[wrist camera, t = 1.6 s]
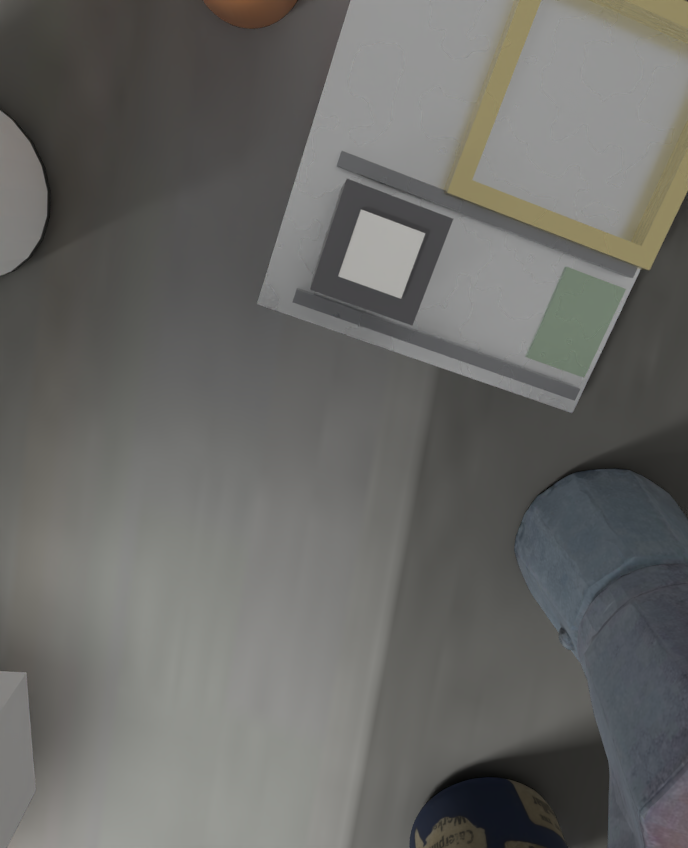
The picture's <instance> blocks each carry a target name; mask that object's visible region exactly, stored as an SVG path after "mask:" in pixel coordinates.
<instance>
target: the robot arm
mask: <svg viewBox="0 0 688 848" xmlns="http://www.w3.org/2000/svg"><path fill="white" fill-rule="evenodd" d="M35 791H36V785H35V772H34V760H33V747H32V735H31V722H30V710H29V697H28V685H27V672H9V671H0V848H7V846H8V844H9V842H10V840H11V838H12V836H13V834H14V833H15V831H16V829H17V827H18V825H19V823H20V821H21V819H22V817H23V815H24V813H25V811H26V809H27V807H28V805H29V803H30V801H31V799H32V797H33V795H34V793H35Z"/></svg>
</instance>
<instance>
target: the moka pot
mask: <svg viewBox="0 0 688 848" xmlns="http://www.w3.org/2000/svg"><path fill="white" fill-rule="evenodd" d="M514 551H515V555H516V559H517V562H518V565H519V567H520V570H521V572H522V575H523V577H524V579H525V581H526V584H527V586H528V588H529V590H530V592H531V593H532V595H533V597H534V598H535V600H536V601H537V602H538V604H539V605H540V606H541V608H542V609H543V611H544V612H545V614H546V615H547V617H548V618H549V620H550V621H551V622H552V624H553V625H554V626H555V628H556V629H557V631H558V632H559V640H560V642H561V644H562V645H563V646H564V647H565V648H566V649H568V650H572V652H573V653H574V655H575V656H576V658H577V659H578V660H579V662H580V663H581V666H582V668H583V671H584V673H585V676H586V678H587V680H588V687H589V692H590V698H591V702H592V707H593V712H594V716H595V719H596V722H597V725H598V728H599V732H600V735H601V738H602V742H603V745H604V749H605V752H606V755H607V758H608V762H609V775H610V779H609V815H608V846H607V848H688V519H687V518H686V516H685V515H684V513H683V512H682V510H681V509H680V508H679V506H678V505H677V503H676V502H675V500H674V499H673V498H672V496H671V495H670V494H669V493H668V492H666V491H665V490H663V489H662V488H661V487H659V486H658V485H656V484H655V483H653V482H652V481H651V480H649V479H647V478H645V477H643V476H642V475H639V474H637V473H635V472H633V471H630V470H626V469H598V470H587V471H583V472H576V473H573V474H571V475H569V476H567V477H565V478H563V479H561V480H560V481H558V482H557V483H555V484H554V485H553V486H552V487H550V488H548V489H547V490H546V491H545V492H543V493H542V494H540V495H538V496H537V498H536V499H535V500H534V501H533V503H532V504H531V505H530V507H529V509H528V510H527V511H526V513H525V514H524V517H523V520H522V522H521V525H520V527H519V529H518V533H517V535H516V540H515V548H514Z"/></svg>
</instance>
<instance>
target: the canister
mask: <svg viewBox="0 0 688 848" xmlns="http://www.w3.org/2000/svg"><path fill="white" fill-rule="evenodd" d="M410 848H568V846H567V844H566V841H565V839H564V837H563V834H562V831H561V829H560V826H559V824H558V821H557V818H556V816H555V814H554V812H553V810H552V809H551V807H550V806H549V804H548V803H547V802H546V801H545V800H544V799H543V798H542V797H541V796H540V795H539V794H538V793H537V792H536V791H535V790H533V789H531V788H529V787H528V786H526V785H523V784H521V783H518V782H516V781H512V780H509V779H503V778H495V777H484V778H475V779H470V780H466V781H463V782H460V783H457V784H454V785H452V786H450V787H448V788H446V789H444V790H442V791H441V792H439V793H438V794H437V795H435V796H434V797H433V798H432V799H430V800H429V801H428V802H427V803H426V804H425V805H424V807H423V808H422V810H421V811H420V813H419V814H418V816H417V818H416V820H415V822H414V824H413V827H412V831H411V836H410Z"/></svg>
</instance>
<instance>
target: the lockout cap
mask: <svg viewBox="0 0 688 848" xmlns="http://www.w3.org/2000/svg"><path fill="white" fill-rule="evenodd" d="M203 1H204V3H205V4H206V5H207V7H208V8H209V9H210V10H211V11H212V12H213V13H214V14H215V15H217V16H218V17H219V18H221V19H222V20H224V21H225V22H227V23H229V24H231V25H234V26H237V27H241V28H249V29H255V28H262V27H266V26H269V25H271V24H273V23H275V22H277V21H279V20H280V19H282V18H283V17H284V16H285V15H286V14H288V12H289V11H290V10H291V9H292V8H293V6H294V5H295V3H296V2H297V0H203Z"/></svg>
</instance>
